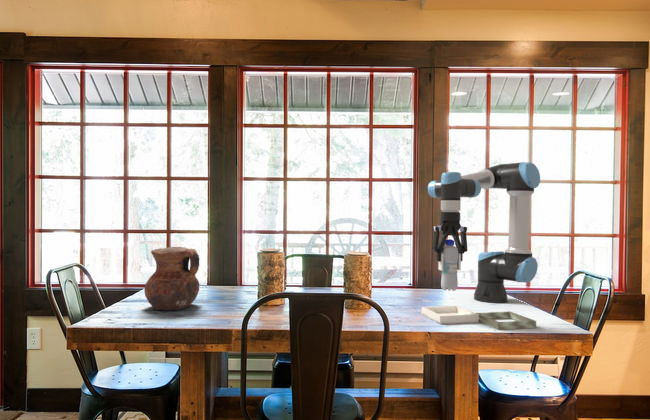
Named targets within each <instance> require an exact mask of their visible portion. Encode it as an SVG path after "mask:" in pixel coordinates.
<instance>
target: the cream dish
mask: <svg viewBox="0 0 650 420" xmlns="http://www.w3.org/2000/svg"><path fill="white" fill-rule="evenodd" d="M476 313H477V312H474V311H472V310H469V309H466V308H464V307H461V306H459V305H443V306H442V305H441V306H438V305H437V306H422V307H421V315H422V316H424V317H426V318H427V319H429V320H431V321H433V322H435V323H436V324H439V325H452V324H470V323H473V324H475V323H480V321H479V314H476Z"/></svg>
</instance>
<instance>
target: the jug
mask: <svg viewBox="0 0 650 420" xmlns="http://www.w3.org/2000/svg"><path fill="white" fill-rule="evenodd" d="M150 254H152V257H153V259H154V261H155V265H156V267H155V272H154V273H153V274H151V275H150V277H149V278H148V280H147V281H146V283H145V286H144V290H143V291H144V297H145V298H146V300H147V302H148V303H149V305H150V306H151V307H152V308H154V309H155V310H156V311H178V310H179V311H180V310H185V309H186V308H189V306H191V305H192V304H193V302H194V301H195V300H196V299H197V296H198V294H199V292H200V281H199V279H198V278H197V277H196V274H197V273H198V271H199V267H200V255H199V254H198V251H197V250H196V248H188V247H185V246H184V247H183V246H169V247H168V246H167V247H163V248H162V247H161V248H160V247H159V248H157V249H156V248H155V249H152V250H151V252H150Z"/></svg>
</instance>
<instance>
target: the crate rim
mask: <svg viewBox="0 0 650 420" xmlns="http://www.w3.org/2000/svg"><path fill="white" fill-rule="evenodd" d="M475 313H476V314H479V323H483V324H484V325H487V326H489V327H491V328H493V329H494V330H495V329H496V330H500V331H501V330H515V329H516V330H517V329H518V330H519V329H535V328H537V320H535V319H531V318H529V317H528V316H527V317H526V316H524V315H521V314H518V313H516V312H513V311H509V310H508V311H490V312H489V311H488V312H486V311H485V312H475ZM501 319H510V320H511V321H497V320H501Z"/></svg>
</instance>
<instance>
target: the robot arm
mask: <svg viewBox="0 0 650 420" xmlns="http://www.w3.org/2000/svg"><path fill="white" fill-rule="evenodd" d="M540 183H541V173H540V170H539V168H538V167H537V165H536V164H535V163H533V162H527V161H525V162H524V161H523V162H514V163H513V162H511V163H502V164H501V163H500V164H497V165H493V166H490V167H486V168H482V169H480V170H479V171H478V172H473V173H468V174H464V175H461V172H459V171H458V172H457V171H447V172H443V173H441V179H438V180H437V179H436V180H431V181H430V182H429V183H428V185H427V193H428V195H429V197H431V198H434V199H435V198H436V199H440V211H441V212H440V224H439V225H436V226H433V227H432V228H433V229H432V230H433V238H432V239H433V240H432V247H431V251H432V252H434V253H436V262H438V264H437V265H438V267H437V269H438V271H442V270H443V261H444V254H442V250H443V247H444V246H445V242H446V240H448V237H449V236H451V237H452V238H453V240H454V246H455V247H457V248H458V255H459V256H458V261H457V271H461V269H462V268H461V264H462V262H463V256H464V255H463V254H465V253H467V252H468V240H467V231H468V227H467V226H462V225H461V223H460V222H461V212H460V211H462V210H461V206H462V205H461V202H462V201H461V200H462V199H461V198H469V199H472V198H476V197H478V196H479V195H480V194H481V192H482V189H483V190H489V189H503V190H505V189H506V190H505V191H506V193H507V194H508V195H509V207H508V208H509V211H508V214H509V215H508V217H509V219H508V241H507V242H508V243H507V244H508V245H507V246H508V247H507V249H505V250H504V251H502V250H501V251H485V252H480V253H479V254H478V256H477V257H478V258H477V259H478V260H477V284H476V287H475V290H474V293H473V299H474V300H475V301H478V302H484V303H496V304H498V303H506V302H508V294H507V293H508V292H507V291H506V288H505V285H504V284H505V283H504V282H505V281H510V282H517V283H523V284H524V283H530V282H532V281H533V280H534V278H535V277H536V275H537V272H538V266H539V265H538V262H537V259H536V258H535V257H533V252H532V251H531V250H530V223H531V222H530V221H531V220H530V219H531V217H530V215H531V213H530V212H531V196H532V195H533V194H534V193H535V189H536V188H538V187H540V186H539V185H540ZM459 231H460V233H459ZM440 232H441V233H440ZM440 234H441V235H440Z"/></svg>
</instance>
